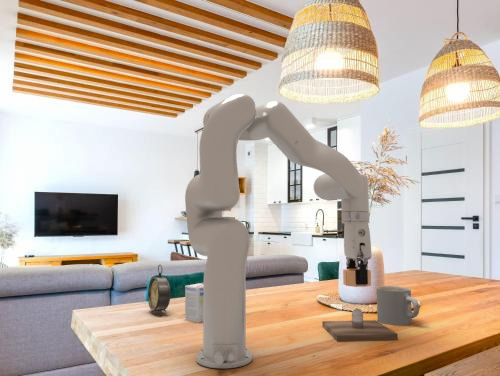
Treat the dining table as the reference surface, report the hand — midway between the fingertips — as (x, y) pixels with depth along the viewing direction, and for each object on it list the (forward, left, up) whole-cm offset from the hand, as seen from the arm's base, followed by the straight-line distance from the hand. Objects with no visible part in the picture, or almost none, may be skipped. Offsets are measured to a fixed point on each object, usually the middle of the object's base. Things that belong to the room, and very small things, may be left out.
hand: (357, 281), depth 115 cm
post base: (0, 0, -14) cm, 14 cm away
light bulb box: (+21, +43, -14) cm, 50 cm away
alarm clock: (+29, +58, -14) cm, 66 cm away
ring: (0, 0, -1) cm, 1 cm away
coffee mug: (+10, -16, -14) cm, 23 cm away
